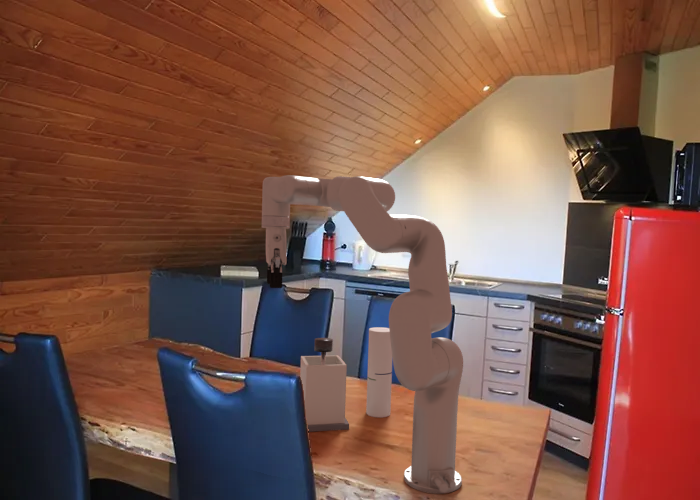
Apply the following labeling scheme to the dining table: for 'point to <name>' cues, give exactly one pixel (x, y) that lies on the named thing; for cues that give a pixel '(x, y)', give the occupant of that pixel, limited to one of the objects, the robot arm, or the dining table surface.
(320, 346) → the plunger
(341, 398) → the press carafe
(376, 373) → the cylindrical container
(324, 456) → the dining table surface
